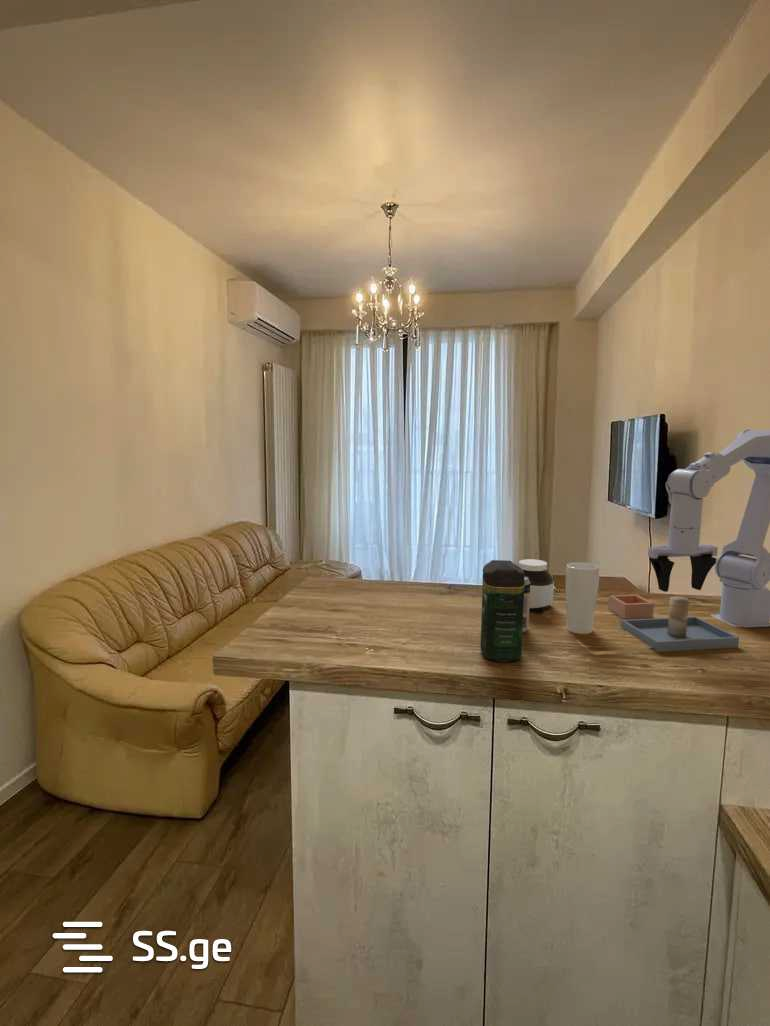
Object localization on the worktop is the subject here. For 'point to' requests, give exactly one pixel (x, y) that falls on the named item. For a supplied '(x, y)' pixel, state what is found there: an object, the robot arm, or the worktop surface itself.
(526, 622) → the beer can
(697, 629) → the slate tray
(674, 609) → the ash peg
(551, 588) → the spread jar
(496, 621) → the coffee jar
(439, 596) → the worktop surface
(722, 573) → the robot arm
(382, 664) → the worktop surface
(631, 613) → the salmon open box
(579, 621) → the drinking glass
